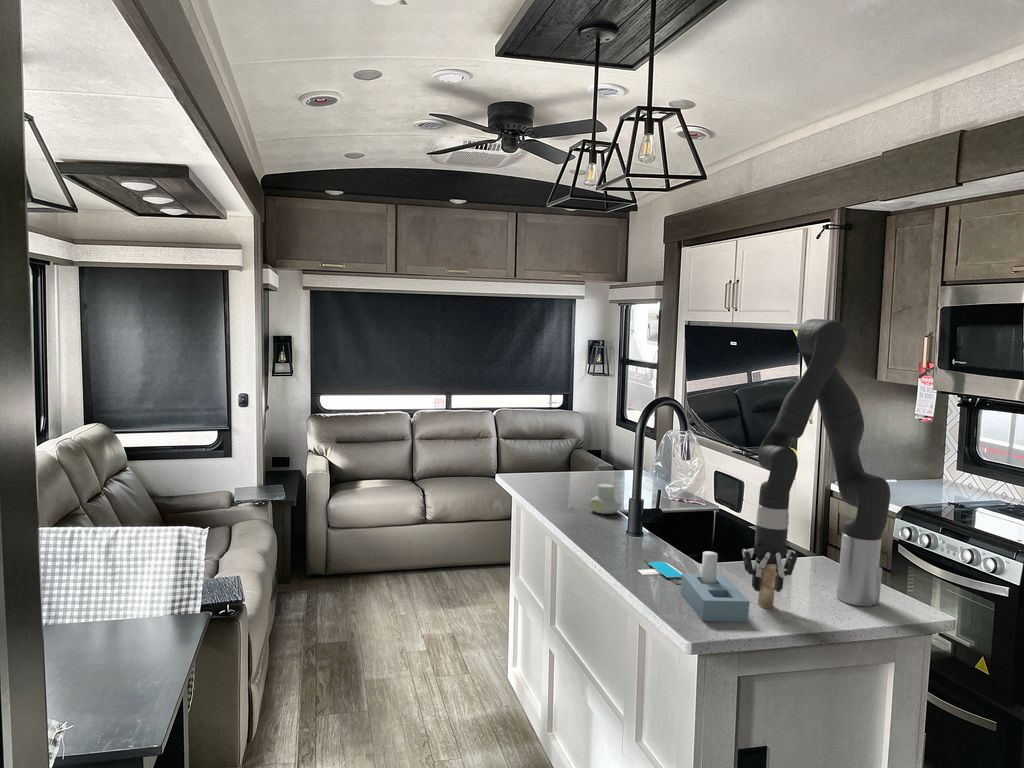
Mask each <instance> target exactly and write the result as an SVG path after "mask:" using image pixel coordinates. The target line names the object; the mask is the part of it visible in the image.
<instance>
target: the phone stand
mask: <svg viewBox="0 0 1024 768" xmlns="http://www.w3.org/2000/svg"><path fill="white" fill-rule="evenodd" d="M644 561H645V562H646V563H647V564H648V565H649V566H651V567H652V568H651V569H650V568H649V569H637V570H638V571H639V572H640V573H641V574H640V573H639V572H638V571H637V572H638V573H639V574H640V575H642V576H655V575H663V576H665V578H667V579H668V580H670V581H671V582H673V583H675V584H676V585H681V582H680V581H679V580H680V579H681V578H682V574H687V573H686V572H685V571H683V570H682V569H680V568H678V567H677V566H676V565H674V564H673V563H671V562H670V561H669V560H667V561H666V562H665V561H652V560H650V559H647V558H646V559H644Z"/></svg>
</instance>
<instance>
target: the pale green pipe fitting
mask: <svg viewBox="0 0 1024 768" xmlns="http://www.w3.org/2000/svg"><path fill="white" fill-rule="evenodd" d="M589 506H590V508H591V510H592V511H594V512H595V513H597V514H598V513H601V514H600V515H603V514H609V515H613V514H616V513H618V511H620V509H621V502H620V501H619V499H618V498H617V497H615V486H614V485H613V484H609V483H600V484H598V485H597V495H596V496H594V497H593V498H591V500H590V502H589Z"/></svg>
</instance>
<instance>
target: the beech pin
mask: <svg viewBox="0 0 1024 768" xmlns="http://www.w3.org/2000/svg"><path fill="white" fill-rule="evenodd" d="M776 566H777V565H776V564H766V565H765V568H764V569H763V570H762V572H761V575H760V577H761V581H760V591H758V600H757V605H758V606H759V607H760V608H763V609H773V608H774V599H775V591H776V590H775V578H776V575H777V574H776Z"/></svg>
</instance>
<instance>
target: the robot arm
mask: <svg viewBox="0 0 1024 768" xmlns="http://www.w3.org/2000/svg"><path fill="white" fill-rule="evenodd" d="M849 337H850V336H849V331H848V328H847V327H846V325H845V324H844V323H843V322H841V321H839V320H836V319H835V320H834V319H825V318H824V319H822V318H819V319H818V318H812V319H810V318H809V319H807V320H805V321H803V322H802V323H801V324H800V326H799V328H798V330H797V334H796V341H797V345H798V348H799V349H798V350H799V351H800V354H801V357H802V358H803V361H804V364H805V367H806V370H805V372H804V373H803V374H802V376H801V377H800V379H799V380H798V381H797V382H796V383H795V384H794V385H793V387H792V388H791V389H790V390H789V391H788V393H787V394H786V396H785V397H784V400H783V402H782V404H781V406H780V408H779V410H778V411H779V412H778V414H777V416H776V419H775V422H774V424H773V426H772V427H771V428H770V430H769V431H768V433H767V434H766V435H765V437H764V439H763V440H762V441H761V444H760V446H759V448H758V452H757V461H758V463H759V465H760V467H762V468H763V469H765V470H766V471H769V474H768V479H767V480H766V481H764V482H761V484H760V487H759V498H758V507H757V510H756V511H757V512H756V521H755V531H754V533H755V534H754V535H755V536H754V544H753V546H752V548H747V549H746V548H742V549H741V554H742V560H743V565H744V570H745V572H747V573H748V574H749V575H752V579H751V587H752V588H753V590H754V591H755V592H759V591H760V581H761V577H760V575H761V572H762V570H763V569H764V568H765V565H766V564H776V565H777V566H776V578H775V590H774V591H775V592H776V593H777V592H778V593H779V592H781V590H783V587H784V578H785V577H786V576H791V575H792V574H793V571H794V569H795V565H796V563H797V560H798V557H799V553H798V552H796V551H795V550H793V549H788V548H787V544H788V532H789V530H788V529H789V524H790V521H789V519H790V516H789V515H790V514H789V505H790V496H791V495H790V492H791V489H792V487H793V484H794V481H795V478H796V475H797V472H798V467H799V464H798V463H799V460H798V455H797V453H796V451H795V450H794V449H792V448H791V447H790V445H791V444H792V442H793V440H797V439H799V438H801V437H802V436H803V435H804V432H805V430H806V427H807V425H808V422H809V419H810V417H811V414H812V411H813V410H814V407H815V405H816V403H818V407H819V412H820V415H821V419H822V422H823V426H824V429H825V432H826V435H827V438H828V442H829V443H828V444H829V445H830V446H829V447H830V451H831V454H832V458H833V463H834V469H835V475H836V476H835V477H836V481H837V487H838V491H839V495H840V497H841V498H842V500H843V501H844V502H845V503H846V504H847V505H849V506H851V507H854V508H857V511H856V515H855V518H854V519H848V520H845V521H844V522H843V523H842V532H841V540H840V541H841V542H840V552H839V553H840V554H839V555H840V556H839V567H838V574H837V575H838V577H837V588H836V598H837V600H839V601H841V602H843V603H846V604H849V605H853V606H859V607H871V606H872V605H873V606H875V605H879V604H880V597H881V588H882V587H881V586H882V579H883V578H882V575H883V568H882V566H880V558H881V547H882V537H883V532H884V530H885V528H886V526H887V522H888V516H889V509H890V502H891V488H890V485H889V483H888V481H887V480H886V479H885V478H883V477H881V476H878V475H875V474H871V473H868V472H866V471H865V469H864V468H863V464H862V461H861V456H860V450H859V449H860V444H861V441H862V439H863V435H864V431H865V422H864V421H865V420H864V416H863V413H862V410H861V406H860V403H859V400H858V398H857V396H856V394H855V392H854V391H853V389H852V388H851V387H850V385H849V384H848V383H847V381H846V380H845V379H844V377H843V376H842V374H841V373H840V371H839V370H838V368H837V367H838V366H837V364H838V363H839V361H840V359H841V358H842V356H843V355H844V353H845V350H846V349H847V346H848V343H849V340H850V338H849ZM753 555H755V557H756V558H755V560H754V565H753V563H752V558H753ZM785 556H786V560H785V563H784V565H783V559H784V558H785Z"/></svg>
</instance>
